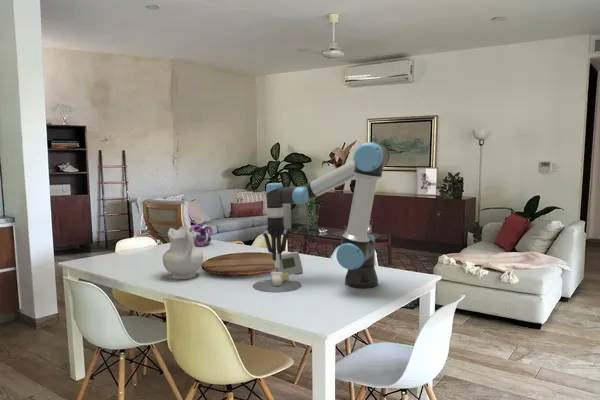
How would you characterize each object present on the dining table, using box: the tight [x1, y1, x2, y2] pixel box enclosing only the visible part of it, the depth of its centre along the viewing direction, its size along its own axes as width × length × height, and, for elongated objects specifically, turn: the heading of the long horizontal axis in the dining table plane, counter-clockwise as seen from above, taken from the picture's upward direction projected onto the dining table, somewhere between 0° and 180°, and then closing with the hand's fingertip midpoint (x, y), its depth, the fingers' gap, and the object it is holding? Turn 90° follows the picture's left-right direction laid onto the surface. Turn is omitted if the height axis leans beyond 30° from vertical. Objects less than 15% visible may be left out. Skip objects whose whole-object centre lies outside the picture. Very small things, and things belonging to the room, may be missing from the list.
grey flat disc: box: [252, 278, 302, 294], centre depth 208 cm, size 22×22×1 cm
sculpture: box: [189, 223, 214, 248], centre depth 307 cm, size 16×17×20 cm
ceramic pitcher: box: [162, 225, 204, 280], centre depth 225 cm, size 22×20×25 cm
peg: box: [270, 271, 290, 286], centre depth 212 cm, size 13×5×6 cm, turn 157°
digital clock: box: [275, 251, 304, 276], centre depth 230 cm, size 16×9×11 cm, turn 122°
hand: (277, 267), depth 215 cm, fingers closed
